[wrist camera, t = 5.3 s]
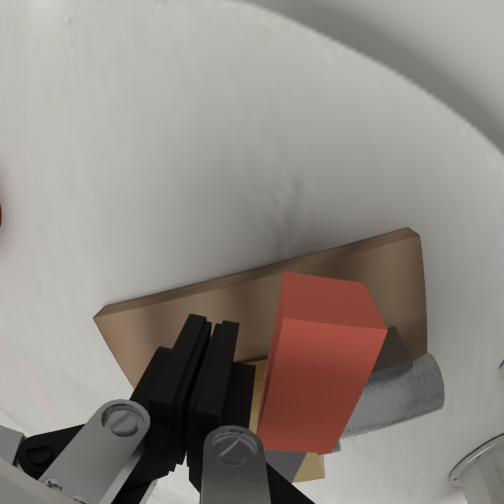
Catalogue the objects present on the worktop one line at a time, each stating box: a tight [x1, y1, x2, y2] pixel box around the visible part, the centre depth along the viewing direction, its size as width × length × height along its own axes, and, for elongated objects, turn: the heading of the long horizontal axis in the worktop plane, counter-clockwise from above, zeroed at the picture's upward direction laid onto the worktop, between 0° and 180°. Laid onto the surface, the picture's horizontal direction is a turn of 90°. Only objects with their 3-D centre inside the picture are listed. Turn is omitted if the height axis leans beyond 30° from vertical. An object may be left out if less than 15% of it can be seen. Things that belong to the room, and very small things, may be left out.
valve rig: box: [93, 227, 444, 483], centre depth 18 cm, size 24×14×11 cm, turn 108°
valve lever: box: [256, 272, 388, 484], centre depth 11 cm, size 14×3×3 cm, turn 173°
